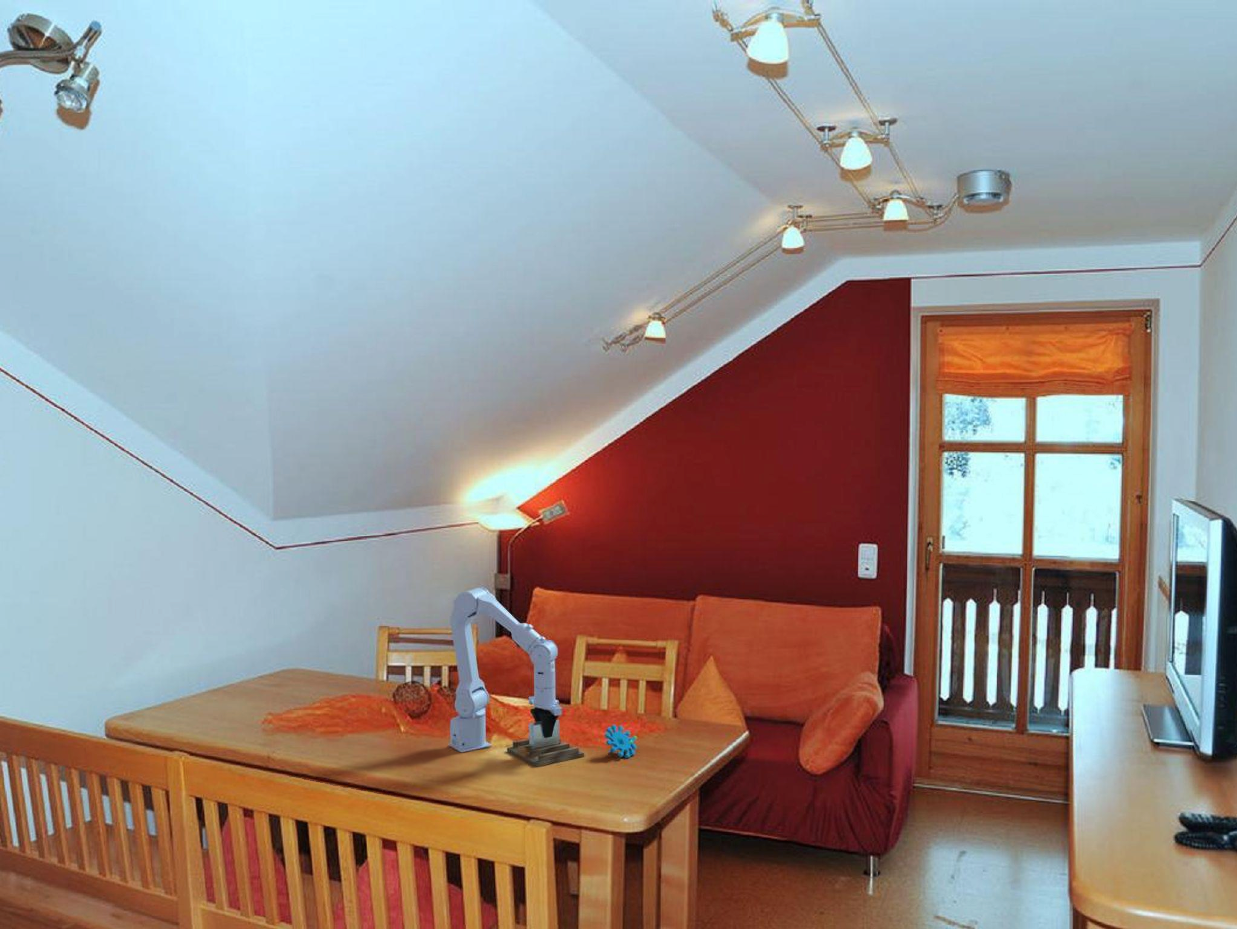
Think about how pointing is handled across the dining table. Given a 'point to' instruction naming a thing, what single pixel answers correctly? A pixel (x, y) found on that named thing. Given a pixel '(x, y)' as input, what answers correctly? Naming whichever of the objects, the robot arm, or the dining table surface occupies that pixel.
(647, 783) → the dining table surface
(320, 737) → the dining table surface
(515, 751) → the slot rack
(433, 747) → the dining table surface
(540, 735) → the panel
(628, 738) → the gear
